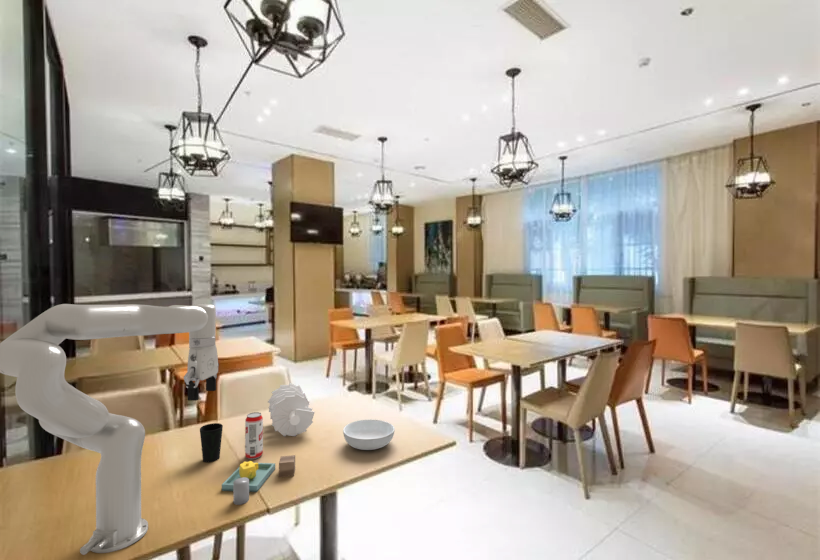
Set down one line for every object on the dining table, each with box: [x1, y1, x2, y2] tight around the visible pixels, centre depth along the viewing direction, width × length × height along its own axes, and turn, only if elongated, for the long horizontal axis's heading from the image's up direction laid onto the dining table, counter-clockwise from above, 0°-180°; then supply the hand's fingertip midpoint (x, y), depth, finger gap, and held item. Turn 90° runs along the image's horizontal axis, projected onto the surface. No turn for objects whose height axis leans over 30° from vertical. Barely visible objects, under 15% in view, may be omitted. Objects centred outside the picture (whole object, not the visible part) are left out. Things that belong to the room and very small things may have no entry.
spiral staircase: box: [267, 382, 316, 437], centre depth 174 cm, size 18×18×25 cm
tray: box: [221, 462, 276, 493], centre depth 131 cm, size 15×12×2 cm
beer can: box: [244, 411, 264, 460], centre depth 147 cm, size 6×6×16 cm
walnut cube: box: [278, 454, 296, 478], centre depth 135 cm, size 5×5×5 cm
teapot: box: [238, 460, 259, 479], centre depth 131 cm, size 8×6×5 cm
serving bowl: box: [342, 418, 395, 451], centre depth 158 cm, size 21×21×7 cm
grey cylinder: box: [232, 477, 250, 506], centre depth 119 cm, size 4×4×6 cm
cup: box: [199, 422, 224, 463], centre depth 145 cm, size 8×8×12 cm
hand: (202, 395), depth 125 cm, fingers open, 9 cm apart
